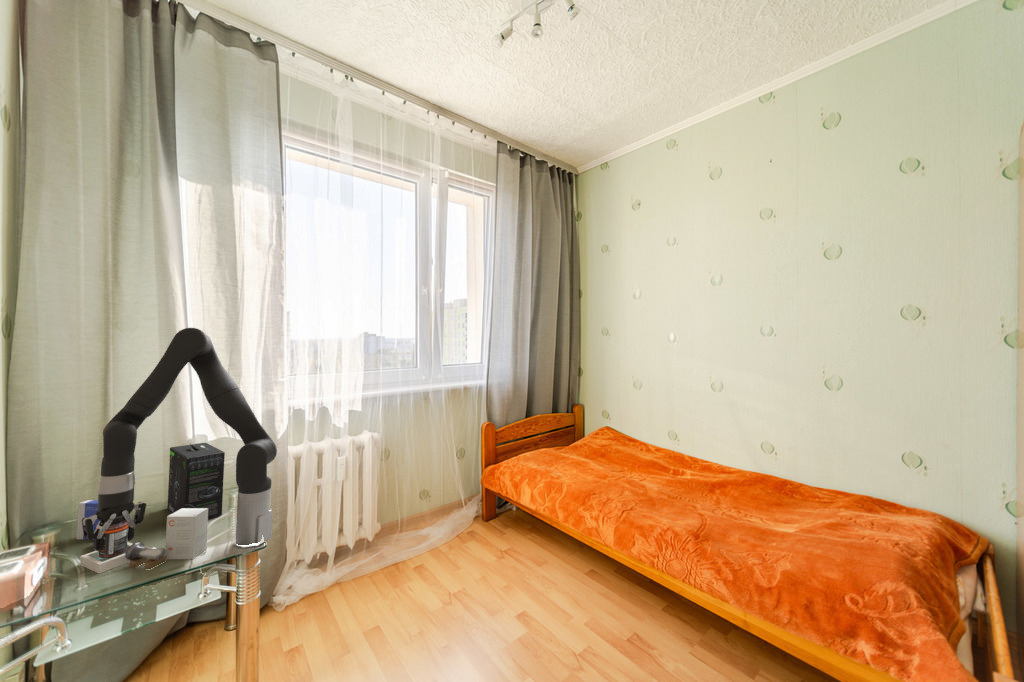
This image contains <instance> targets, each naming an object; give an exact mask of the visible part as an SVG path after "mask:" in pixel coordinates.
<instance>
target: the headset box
mask: <svg viewBox="0 0 1024 682" xmlns="http://www.w3.org/2000/svg"><path fill="white" fill-rule="evenodd" d="M225 453H226V452H225V451H223V450H222V449H220V448H217V447H216V446H213V445H211V444H210V443H208V442H199V443H193V444H191V443H190V444H186V445H184V444H183V445H177V446H171V447H169V468H168V469H169V471H168V488H167V490H168V492H167V511H169V513H170V515H171V514H172V513H174V512H176V511H178V510H180V509H182V508H208V520H209V519H214V518H217V517H220V516H223V501H224V499H223V496H224V495H223V494H224V493H223V492H224V474H225Z"/></svg>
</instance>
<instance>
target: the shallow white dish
mask: <svg viewBox="0 0 1024 682" xmlns="http://www.w3.org/2000/svg"><path fill="white" fill-rule="evenodd" d="M132 544H133V543H132V542H131V541H128V543H127V549H128V548H129V547H130V546H131V545H132ZM126 551H127V550H126ZM126 551H125V552H124V553H123V554H121V555H118V556H115V557H111V558H100V557H99V552H98V551H96V550H94V551H92V552H89V553H86V554H82V555H80V558H79V559H80V560H79V561H80V562H79V563H80V564H79V565H80V566H82V567H84V568H86V569H88V570H91V571H92V572H94V573H97V574H102V573H103V572H106V571H109V570H112V569H114V568H116V567H119V566H122V565H124V564H127V563H129V561H130V560H127V559H126V557H125V554H126Z"/></svg>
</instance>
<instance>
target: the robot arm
mask: <svg viewBox="0 0 1024 682" xmlns="http://www.w3.org/2000/svg"><path fill="white" fill-rule="evenodd" d="M170 341H171V342H170V343H169V345H168V346H167V348H166V350H165V352H164V354H163V355H162V357H161V359H160V360H159V361H158V363H157V364H156V366H155V367H154V369H152V371H151V373H149V375H148V376H147V378H146V379H145V380H144V381H143V382H142V384H141V385H140V386H139V387H138V389H136V391H135V392H134V393H133V394H132V396H131V397H130V398H129V399H128V401H127V402H126V404H125V405H124V406H123V408H121V409H120V410H119V411H118V412H117V413H116V414H115V415H114V416H113V417H112V418H111V419H110V420H109V422H108V423H107V424H106V425H105V426H104V428H103V430H102V438H103V439H102V441H103V447H102V449H103V450H102V451H103V452H102V453H103V457H102V459H101V464H100V478H99V482H98V495H97V500H98V511H97V513H96V514H95V515H94V516H91V517H88V518H87V517H85V518H83V519H82V527H83V534H84V537H85V538H87V539H86V540H92V541H93V542H92V549H93V550H94V551H98V552H99V551H102V550H103V538H102V536H103V534H104V533H105V530H107V529H108V528H109V526H110V524H111V523H112V521H113V520H114V518H115V517H117V516H121V515H123V516H124V520H126V521H127V522H128V523H129V527H128V542H131V541H132V540H133V538H134V537H135V527H136V526H137V525H140V524H142V523H143V521H144V517H145V513H146V508H147V503H146V502H142V501H138V502H137V503H134V500H135V484H136V479H135V477H136V476H135V461H136V460H135V452H136V446H137V445H136V444H137V439H138V429H139V428H140V426H141V425H142V424H143V423H144V422H145V420H146V419H147V418H149V417H150V416H152V415H153V413H154V412H156V410H157V409H158V408H159V407H160V405H161V404H162V402H163V401H164V400H165V399H166V398H167V396H168V394H170V391H171V389H172V388H173V385H174V383H175V382H176V380H177V378H178V376H179V374H180V373H181V372H182V370H183V369H184V368H185V366H186V365H188V364H190V366H191V367H192V368H193V370H194V371H195V372H196V375H197V377H198V379H199V381H200V382H199V383H200V385H201V390H202V392H203V394H204V397H205V399H206V401H207V402H208V404H209V406H210V408H211V410H212V411H213V412H214V414H215V416H217V417H218V419H220V420H221V421H222V422H223V423H225V424H226V425H228V426H229V427H230V428H231V429H233V430H234V431H235V432H236V433H237V434H238V436H239V437H240V439H241V441H242V443H243V444H244V445H243V446H242V447H241V448H239V450H238V452H237V454H236V461H235V481H236V485H237V488H238V489H237V490H238V491H237V506H236V508H237V509H236V522H235V523H236V524H235V525H236V526H235V543H236V544H238V545H249V544H252V543H258V542H260V541H261V539H262V535H263V537H264V541H265V542H264V543H266V542H268V541H269V540H270V539H272V532H273V516H274V515H273V514H274V511H273V509H271V499H272V498H271V497H272V494H271V493H272V479H271V478H270V477H269V476H268V472H267V471H268V470H267V468H268V465H269V464H270V463H271V462H273V461H274V460H275V458H276V457H277V453H278V449H277V446H276V444H275V441H274V440H273V439H272V437H270V435H269V434H268V433H267V431H266V430H265V428H264V427H263V426H262V425H261V423H260V422H259V420H258V418H257V417H256V415H255V413H254V412H253V410H252V409H251V407H250V405H249V403H248V402H247V400H246V398H245V396H244V394H243V392H242V391H241V389H240V387H239V385H238V384H237V383H236V382H235V380H234V379H233V378H232V376H231V375H230V373H229V372H228V370H227V369H226V368H225V367H224V365H223V364H222V362H221V360H220V358H219V356H218V353H217V351H216V349H215V347H214V344H213V341H212V340H211V337H210V336H208V334H207V333H205V332H204V331H203V330H201V329H199V328H197V327H186V328H183V329H181V330H179V331H177V333H175V335H174V336H173V338H172V340H170ZM133 510H134V511H135V512H134V517H133V518H132V516H131V515H130V514H131V513H132V512H133ZM96 519H98V520H99V523H98V525H97V526H96V530H95V532H93V524H94V523H95V520H96ZM103 525H104V526H103Z"/></svg>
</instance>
